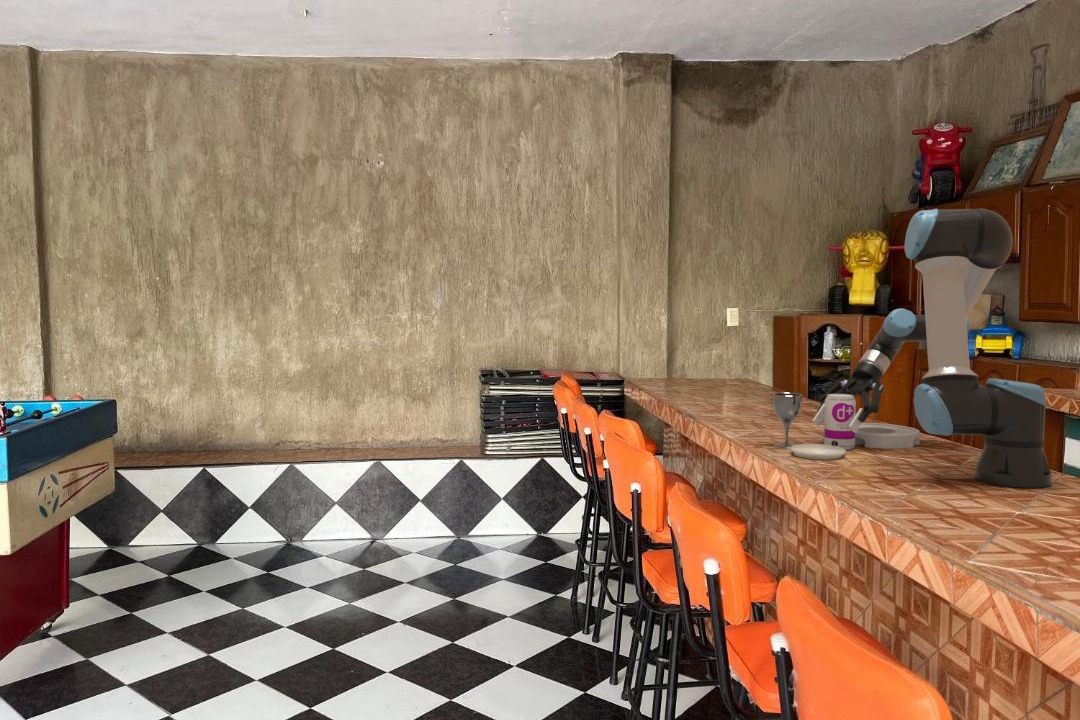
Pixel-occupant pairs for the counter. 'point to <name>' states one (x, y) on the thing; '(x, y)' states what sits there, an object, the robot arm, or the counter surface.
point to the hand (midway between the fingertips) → (833, 426)
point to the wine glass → (786, 411)
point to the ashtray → (886, 436)
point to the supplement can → (839, 420)
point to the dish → (818, 451)
